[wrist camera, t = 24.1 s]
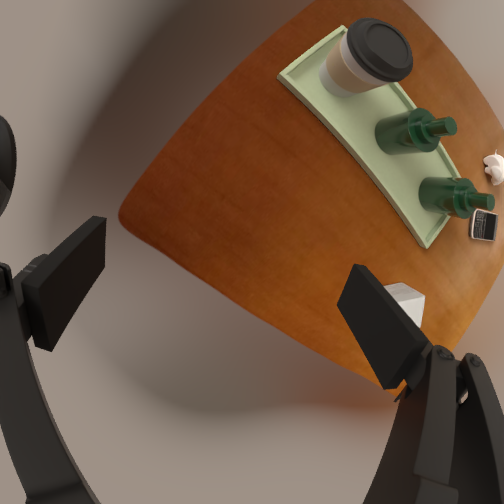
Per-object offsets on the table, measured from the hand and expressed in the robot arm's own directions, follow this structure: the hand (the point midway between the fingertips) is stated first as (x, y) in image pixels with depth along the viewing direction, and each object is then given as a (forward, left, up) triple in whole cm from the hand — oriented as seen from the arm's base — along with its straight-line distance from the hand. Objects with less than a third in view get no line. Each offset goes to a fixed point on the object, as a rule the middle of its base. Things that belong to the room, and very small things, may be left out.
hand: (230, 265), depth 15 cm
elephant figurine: (+33, +47, -27) cm, 64 cm away
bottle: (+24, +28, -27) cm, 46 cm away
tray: (+11, +28, -27) cm, 41 cm away
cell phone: (+41, +37, -27) cm, 62 cm away
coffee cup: (-2, +28, -27) cm, 39 cm away
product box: (+32, +9, -27) cm, 43 cm away
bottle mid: (+11, +28, -27) cm, 40 cm away
